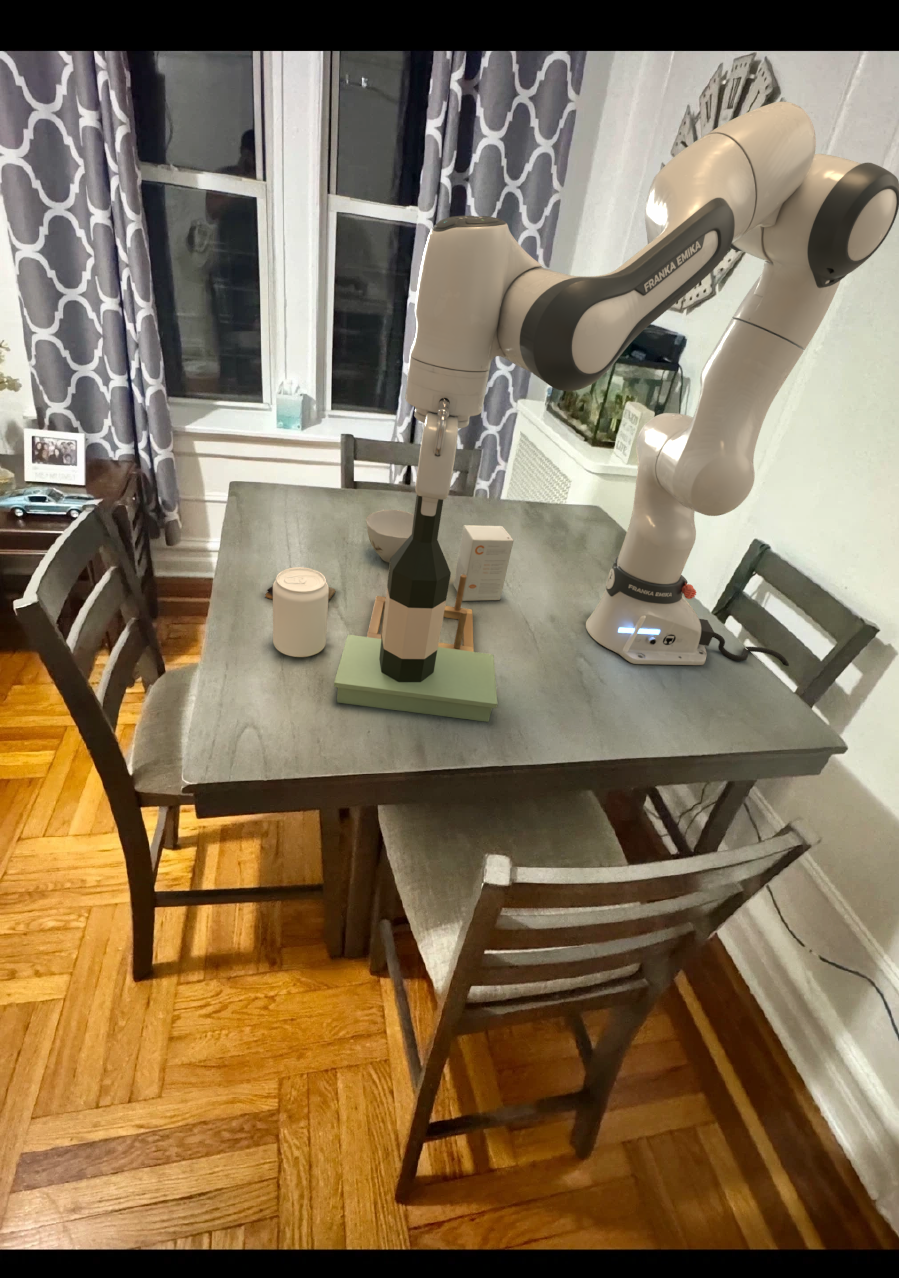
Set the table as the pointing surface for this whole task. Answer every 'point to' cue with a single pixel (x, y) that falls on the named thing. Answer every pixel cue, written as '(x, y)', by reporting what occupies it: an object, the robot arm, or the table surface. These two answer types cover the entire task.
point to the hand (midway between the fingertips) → (428, 506)
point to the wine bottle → (415, 601)
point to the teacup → (389, 531)
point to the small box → (483, 561)
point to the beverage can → (300, 612)
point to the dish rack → (456, 612)
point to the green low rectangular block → (449, 691)
